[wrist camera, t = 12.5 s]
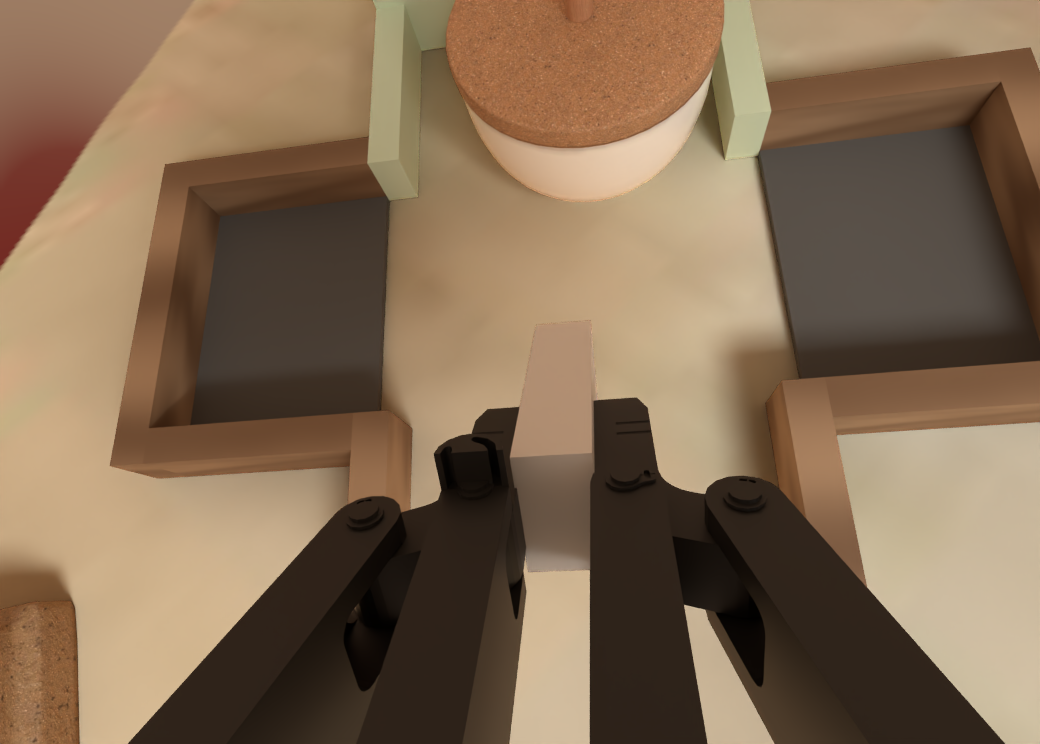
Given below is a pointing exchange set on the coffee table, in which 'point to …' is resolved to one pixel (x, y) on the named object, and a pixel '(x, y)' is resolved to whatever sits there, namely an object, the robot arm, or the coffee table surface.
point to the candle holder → (39, 674)
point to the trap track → (745, 133)
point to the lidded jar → (584, 86)
